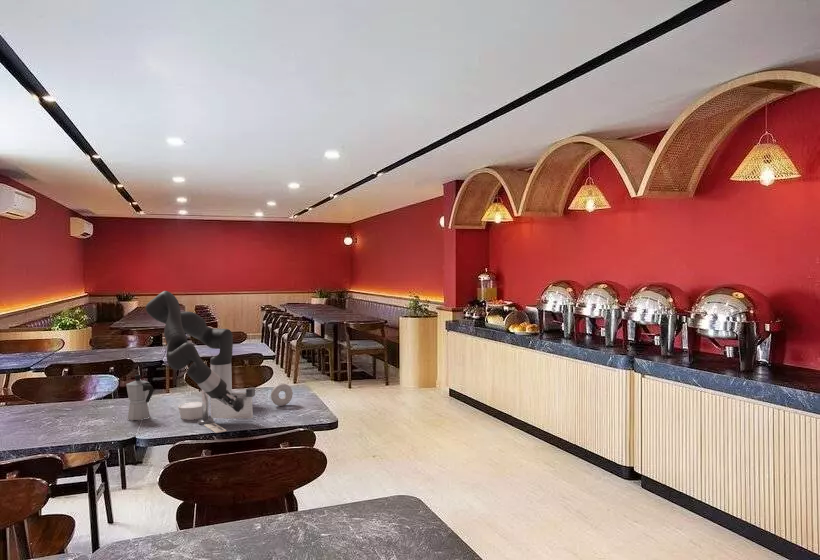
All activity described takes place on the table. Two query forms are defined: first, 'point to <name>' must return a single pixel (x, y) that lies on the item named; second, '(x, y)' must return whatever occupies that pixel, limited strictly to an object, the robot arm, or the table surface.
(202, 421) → the pivot base
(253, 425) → the table surface
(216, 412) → the white upright panel
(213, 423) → the label
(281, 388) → the donut
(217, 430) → the label
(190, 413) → the ramekin
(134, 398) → the coffee maker
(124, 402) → the table surface
